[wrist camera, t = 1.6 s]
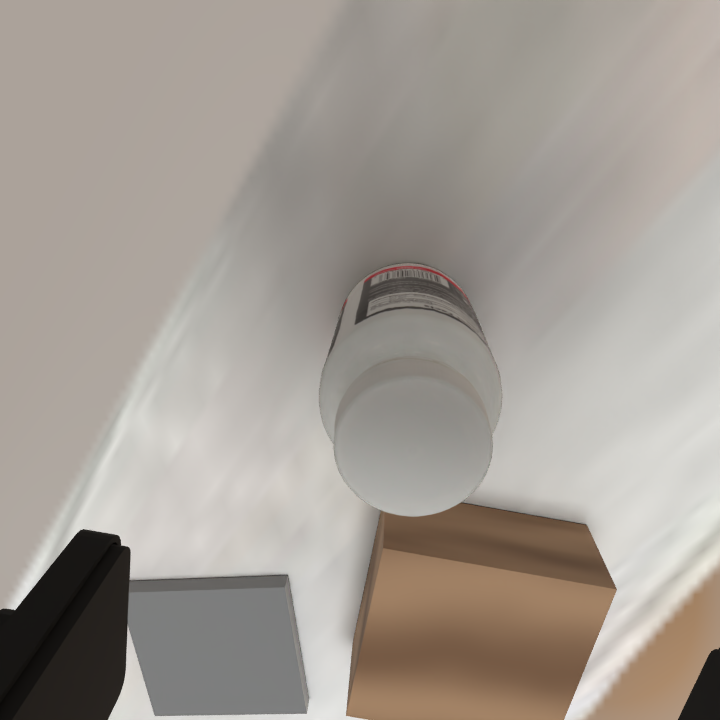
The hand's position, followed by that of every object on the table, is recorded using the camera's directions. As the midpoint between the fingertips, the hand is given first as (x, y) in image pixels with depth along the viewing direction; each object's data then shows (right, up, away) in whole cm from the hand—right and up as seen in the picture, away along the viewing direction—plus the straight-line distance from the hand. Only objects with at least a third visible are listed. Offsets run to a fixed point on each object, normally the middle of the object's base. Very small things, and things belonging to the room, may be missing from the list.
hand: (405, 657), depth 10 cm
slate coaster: (-8, -9, +21) cm, 24 cm away
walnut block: (+4, -6, +19) cm, 20 cm away
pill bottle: (+1, +6, +15) cm, 16 cm away
